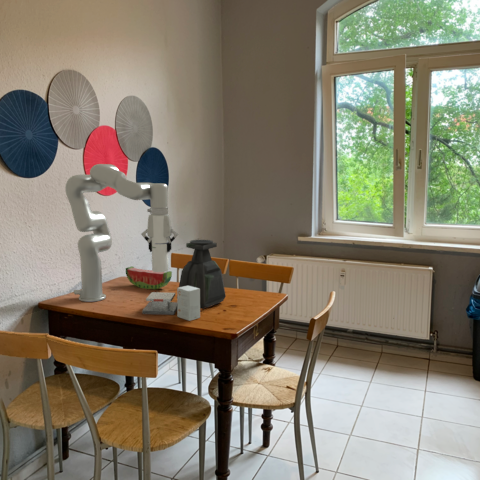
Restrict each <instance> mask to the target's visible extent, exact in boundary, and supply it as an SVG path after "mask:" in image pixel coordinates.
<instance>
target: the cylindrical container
mask: <svg viewBox="0 0 480 480" xmlns="http://www.w3.org/2000/svg"><path fill="white" fill-rule="evenodd" d="M152 216H153V215H152ZM163 221H164V216H153V238H152V252H151V268H152V269H151V270H152V271H153V272H168V271H169V252H167V243H168V241H167V238H164V235H163Z"/></svg>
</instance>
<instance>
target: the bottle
mask: <svg viewBox="0 0 480 480" xmlns="http://www.w3.org/2000/svg"><path fill="white" fill-rule="evenodd" d="M217 243H218V242H214V241H213V240H210V239H193V240H190V241H189V242H187V243H186V244H185V247H186V248H188V249H192V250H193V252H192V257H191V260H190V261H189V260H188V262H187V263H186V264H185V265H184V266H183V268H182V269H181V274H180V278H179V279H180V280H179V285H178V288H179V287H183V286H192V287H196V288H199V289H200V309H203V310H204V309H207V308H209V307H213V306H214V305H218V304H220V303H222V302H224V300H225V298H226V297H227V294H226V290H225V284H224V278H223V274H222V268H221V267H220V266H219V265H218V263H217V262H216V261H215V260H212V256H211V254H210V253H211V252H210V250H211V249H213V248H216V247H217Z"/></svg>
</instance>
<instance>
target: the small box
mask: <svg viewBox="0 0 480 480" xmlns="http://www.w3.org/2000/svg"><path fill="white" fill-rule="evenodd" d="M176 290H177V291H176V292H177V293H176V294H177V295H176V296H177V297H176V299H177V300H176V302H177V310H176V312H177V314H176V315H177V318H180V319H183V320H186V321H188V322H189V321H190V322H191V321H193V320H194V321H195V320H196V319H200V318H201V308H200V289H199V288H196V287H192V286H183V287H179V286H178V287H177V289H176Z"/></svg>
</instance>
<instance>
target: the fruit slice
mask: <svg viewBox="0 0 480 480" xmlns="http://www.w3.org/2000/svg"><path fill="white" fill-rule="evenodd" d="M172 273H173V272H172V271H170V270H168V271H166V272H153V271H152V269H151V270H150V269H143V268H142V269H141V268H136V267H135V266H129V267H125V274H126V278H127V280H128V281H129V282H130V283H131V284H132V285H133V286H135V287H138V288H140V289H144V288H145V289H146V290H158V289H161V288H163V287H166V286H167V285H169V282H170V281H171V280H172V275H173V274H172Z"/></svg>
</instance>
